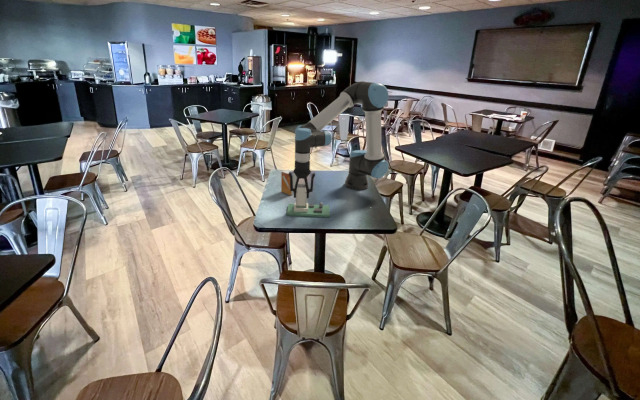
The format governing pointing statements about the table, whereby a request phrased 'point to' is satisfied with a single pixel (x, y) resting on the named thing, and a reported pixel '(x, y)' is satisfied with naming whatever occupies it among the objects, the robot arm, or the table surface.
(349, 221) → the table surface
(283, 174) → the small box
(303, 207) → the board
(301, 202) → the plug
